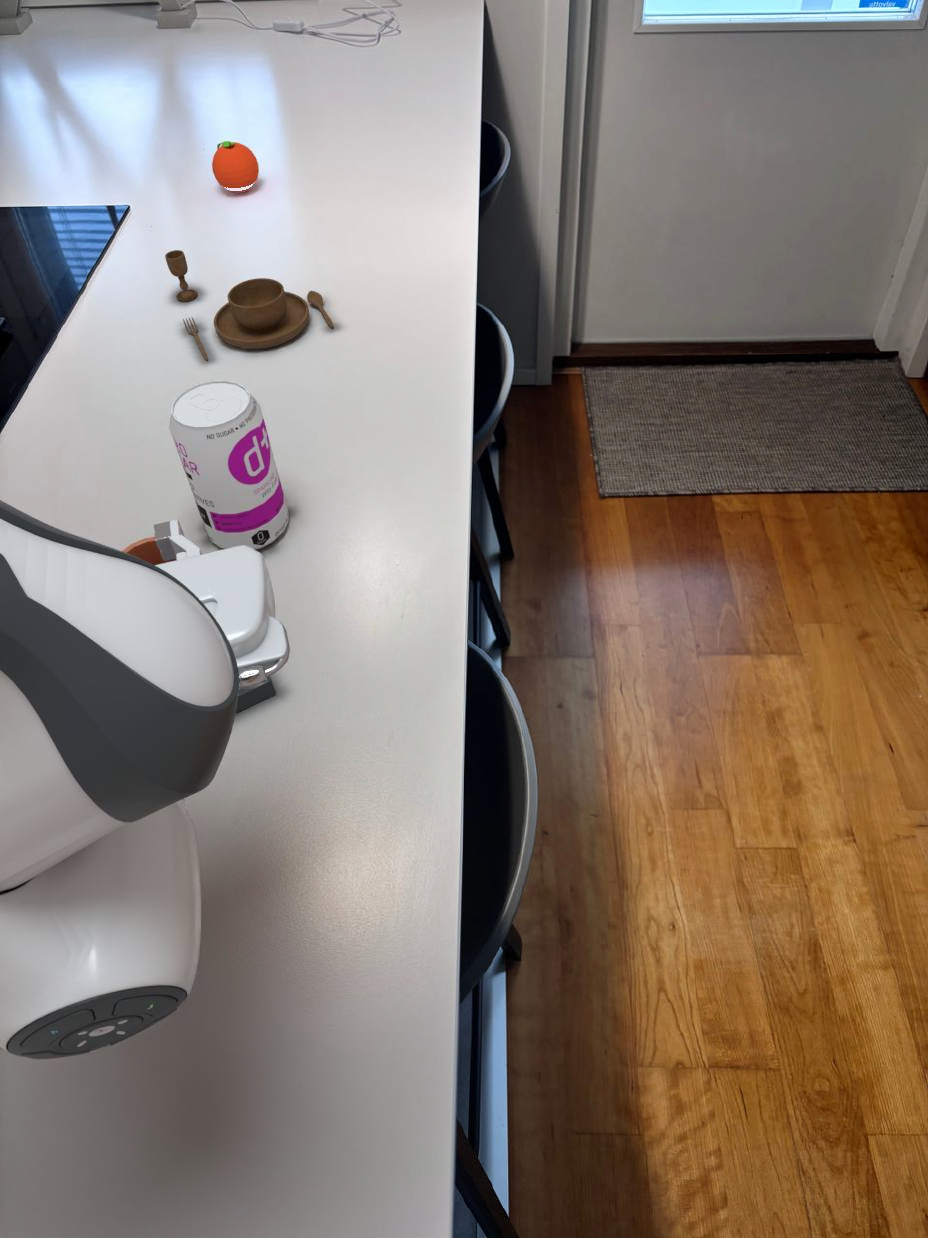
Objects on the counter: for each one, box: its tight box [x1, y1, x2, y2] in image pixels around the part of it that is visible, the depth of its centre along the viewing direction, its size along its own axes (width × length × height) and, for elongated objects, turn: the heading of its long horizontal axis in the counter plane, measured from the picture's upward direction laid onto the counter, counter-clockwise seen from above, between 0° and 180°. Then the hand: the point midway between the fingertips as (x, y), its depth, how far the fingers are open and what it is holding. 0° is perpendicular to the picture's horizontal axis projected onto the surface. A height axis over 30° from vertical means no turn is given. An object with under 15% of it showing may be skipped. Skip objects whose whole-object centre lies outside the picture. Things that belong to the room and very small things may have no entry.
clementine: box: [211, 140, 260, 194], centre depth 145 cm, size 8×7×7 cm
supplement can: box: [168, 379, 290, 551], centre depth 90 cm, size 8×8×15 cm
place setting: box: [164, 249, 334, 361], centre depth 120 cm, size 18×20×6 cm
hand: (91, 546), depth 58 cm, fingers open, 8 cm apart
